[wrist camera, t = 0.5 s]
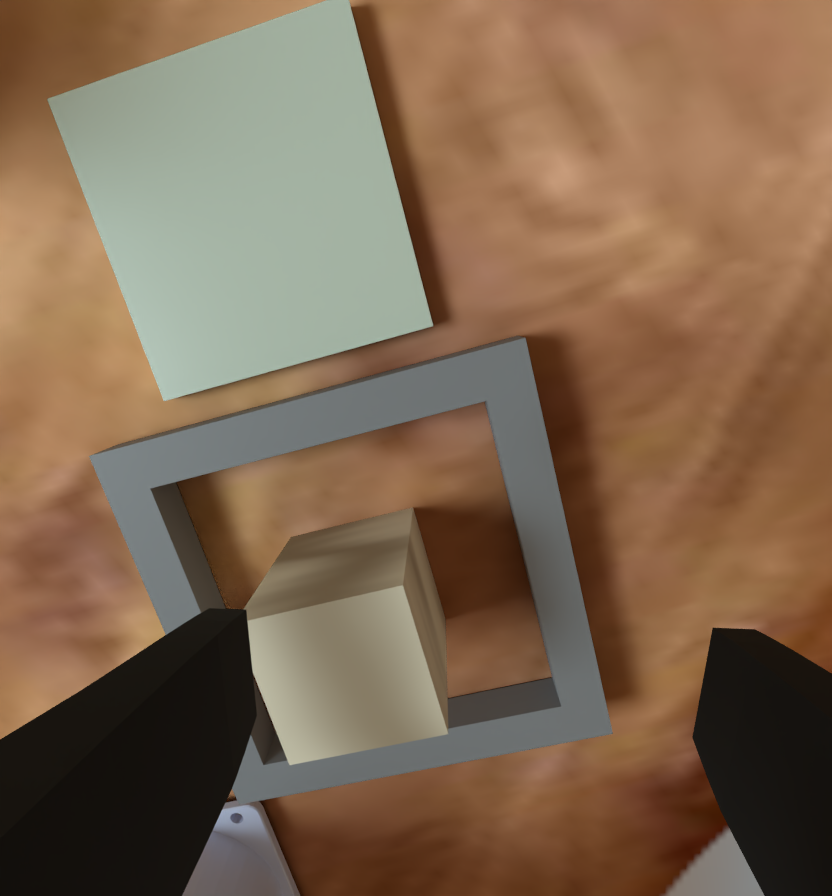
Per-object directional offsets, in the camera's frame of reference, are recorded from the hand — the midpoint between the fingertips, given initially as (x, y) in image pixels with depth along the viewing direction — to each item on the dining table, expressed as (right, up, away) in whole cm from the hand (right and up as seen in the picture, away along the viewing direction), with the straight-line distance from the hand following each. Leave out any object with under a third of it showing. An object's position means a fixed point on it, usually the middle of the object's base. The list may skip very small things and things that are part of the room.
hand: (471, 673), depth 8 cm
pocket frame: (-3, -1, +11) cm, 11 cm away
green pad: (-6, +11, +8) cm, 14 cm away
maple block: (-3, -1, +11) cm, 11 cm away
